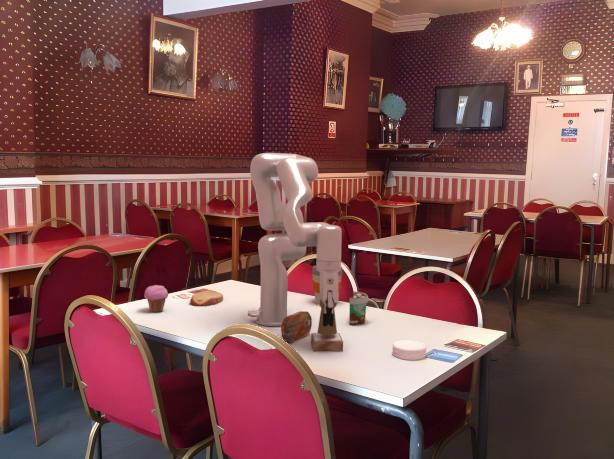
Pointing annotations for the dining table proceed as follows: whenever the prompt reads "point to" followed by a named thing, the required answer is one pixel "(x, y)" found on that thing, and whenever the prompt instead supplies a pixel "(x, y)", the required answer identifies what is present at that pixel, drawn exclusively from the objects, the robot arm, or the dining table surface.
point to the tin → (296, 326)
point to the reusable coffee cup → (317, 283)
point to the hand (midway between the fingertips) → (327, 323)
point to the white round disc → (409, 350)
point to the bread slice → (206, 298)
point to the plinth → (326, 342)
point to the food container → (358, 308)
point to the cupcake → (156, 297)
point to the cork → (328, 329)
